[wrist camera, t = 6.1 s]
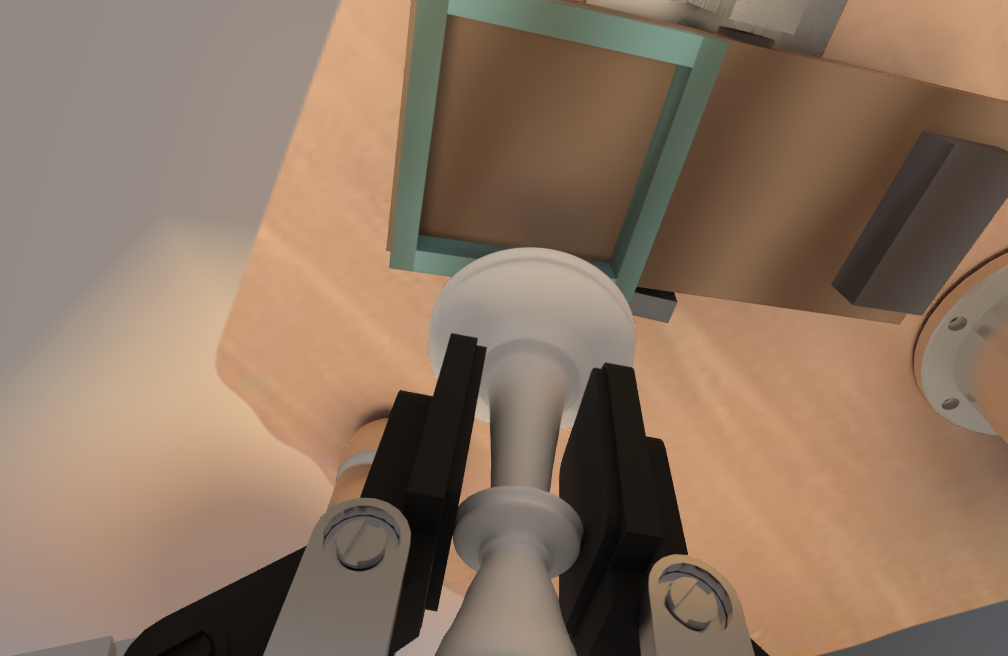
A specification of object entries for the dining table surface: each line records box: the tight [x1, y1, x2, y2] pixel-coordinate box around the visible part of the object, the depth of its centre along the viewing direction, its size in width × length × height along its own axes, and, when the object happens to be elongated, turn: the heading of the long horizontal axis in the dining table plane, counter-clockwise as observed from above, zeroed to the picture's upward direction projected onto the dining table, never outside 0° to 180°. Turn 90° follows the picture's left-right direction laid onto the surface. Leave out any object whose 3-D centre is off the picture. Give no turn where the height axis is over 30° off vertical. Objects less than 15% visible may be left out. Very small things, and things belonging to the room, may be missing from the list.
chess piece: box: [428, 247, 635, 656], centre depth 10 cm, size 5×5×10 cm
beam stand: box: [585, 0, 848, 323], centre depth 23 cm, size 10×13×8 cm
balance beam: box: [386, 0, 1008, 324], centre depth 20 cm, size 21×9×4 cm, turn 78°
